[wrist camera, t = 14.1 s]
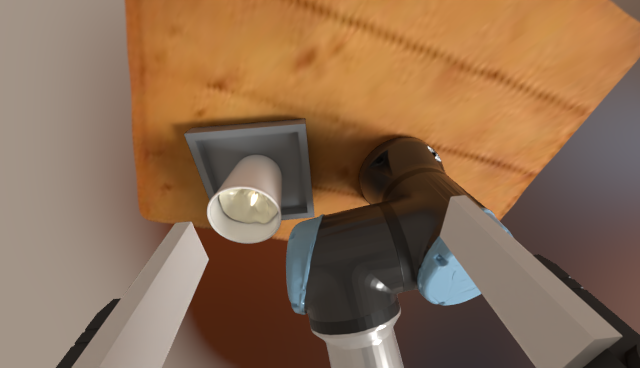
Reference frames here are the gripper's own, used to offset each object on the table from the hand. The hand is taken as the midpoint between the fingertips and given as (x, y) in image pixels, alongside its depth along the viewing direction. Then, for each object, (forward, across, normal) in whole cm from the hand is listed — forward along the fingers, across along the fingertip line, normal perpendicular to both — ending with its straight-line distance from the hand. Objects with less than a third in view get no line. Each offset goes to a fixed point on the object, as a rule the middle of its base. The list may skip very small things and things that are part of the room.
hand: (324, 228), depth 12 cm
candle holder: (+28, +10, +11) cm, 32 cm away
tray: (+29, +10, +11) cm, 32 cm away
